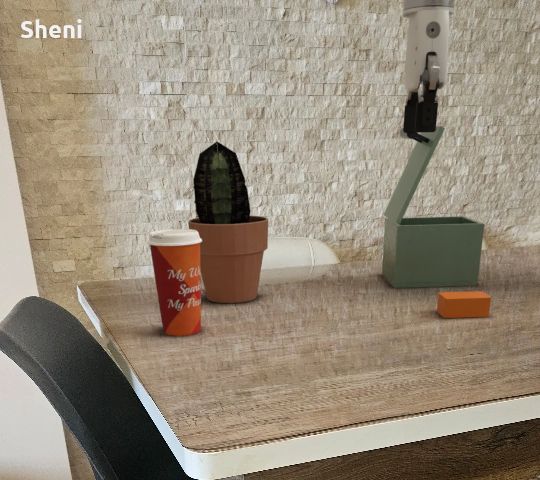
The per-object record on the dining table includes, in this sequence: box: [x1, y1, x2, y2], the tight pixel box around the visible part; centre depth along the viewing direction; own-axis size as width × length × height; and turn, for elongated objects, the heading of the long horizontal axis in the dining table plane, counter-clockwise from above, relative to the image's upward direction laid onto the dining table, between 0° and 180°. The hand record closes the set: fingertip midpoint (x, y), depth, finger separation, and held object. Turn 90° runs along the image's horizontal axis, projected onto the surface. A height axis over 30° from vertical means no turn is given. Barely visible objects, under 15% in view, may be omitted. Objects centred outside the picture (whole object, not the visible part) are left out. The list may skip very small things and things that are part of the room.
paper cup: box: [146, 228, 202, 337], centre depth 96 cm, size 8×8×14 cm
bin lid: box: [383, 125, 446, 224], centre depth 120 cm, size 16×13×5 cm
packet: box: [436, 290, 492, 319], centre depth 104 cm, size 7×4×3 cm, turn 91°
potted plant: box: [187, 141, 269, 304], centre depth 113 cm, size 14×14×25 cm
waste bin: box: [381, 215, 486, 289], centre depth 126 cm, size 16×13×11 cm
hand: (418, 132), depth 107 cm, fingers open, 9 cm apart
